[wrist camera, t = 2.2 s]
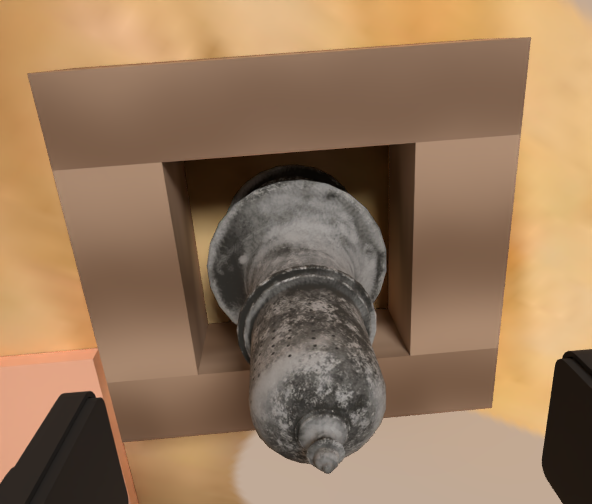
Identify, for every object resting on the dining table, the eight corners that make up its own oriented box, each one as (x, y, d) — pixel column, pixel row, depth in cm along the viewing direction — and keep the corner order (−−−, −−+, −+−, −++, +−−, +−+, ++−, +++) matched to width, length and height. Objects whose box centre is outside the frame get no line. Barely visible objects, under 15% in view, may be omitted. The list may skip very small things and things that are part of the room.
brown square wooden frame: (72, 68, 17) (27, 73, 14) (480, 39, 17) (530, 37, 14) (143, 383, 22) (122, 442, 19) (458, 355, 22) (491, 407, 19)
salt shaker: (396, 234, 20) (561, 470, 9) (287, 323, 21) (312, 627, 10) (298, 122, 18) (352, 245, 7) (185, 227, 19) (78, 472, 8)
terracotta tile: (-119, 367, 21) (-133, 378, 20) (98, 348, 21) (92, 359, 20) (-48, 521, 24) (-58, 536, 24) (138, 503, 25) (134, 517, 24)
